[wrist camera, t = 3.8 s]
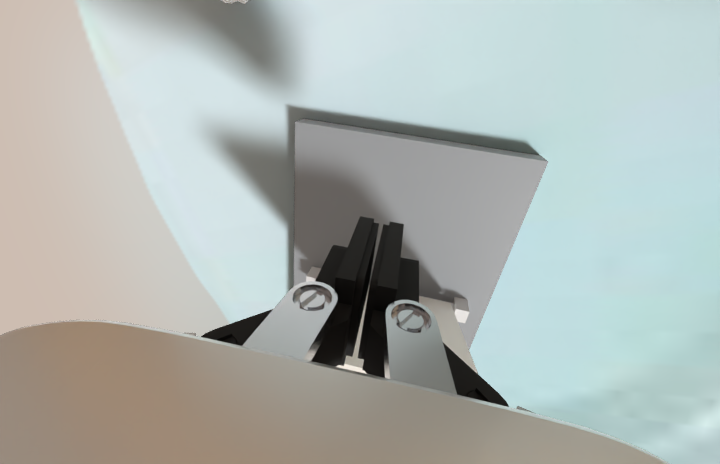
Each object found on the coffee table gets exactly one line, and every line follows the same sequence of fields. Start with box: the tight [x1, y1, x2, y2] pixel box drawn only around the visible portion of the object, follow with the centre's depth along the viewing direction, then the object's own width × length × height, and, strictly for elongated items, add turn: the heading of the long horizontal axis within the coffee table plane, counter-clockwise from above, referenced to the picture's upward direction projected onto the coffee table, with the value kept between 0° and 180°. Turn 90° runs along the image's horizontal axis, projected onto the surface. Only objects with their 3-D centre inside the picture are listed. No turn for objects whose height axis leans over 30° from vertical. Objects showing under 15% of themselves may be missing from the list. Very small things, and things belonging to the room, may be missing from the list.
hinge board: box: [294, 118, 548, 349], centre depth 25 cm, size 24×16×3 cm, turn 173°
